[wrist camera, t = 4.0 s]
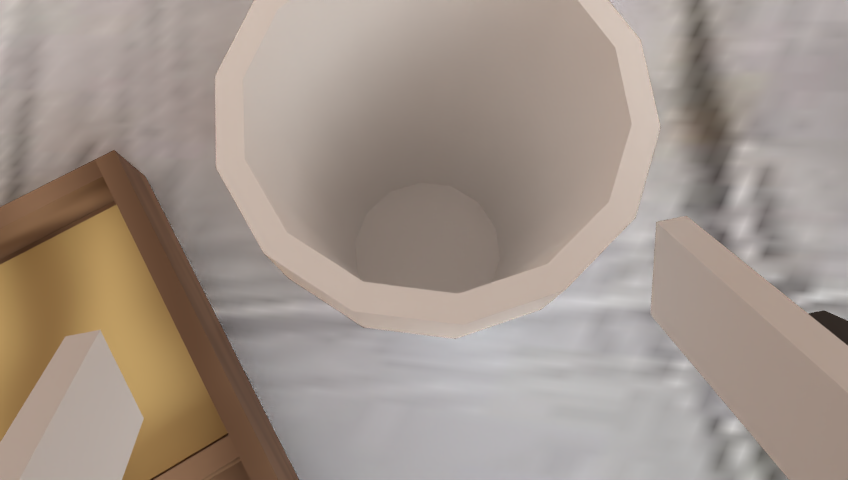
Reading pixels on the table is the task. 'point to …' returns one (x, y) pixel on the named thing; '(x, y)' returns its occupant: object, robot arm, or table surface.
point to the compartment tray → (128, 324)
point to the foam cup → (435, 150)
